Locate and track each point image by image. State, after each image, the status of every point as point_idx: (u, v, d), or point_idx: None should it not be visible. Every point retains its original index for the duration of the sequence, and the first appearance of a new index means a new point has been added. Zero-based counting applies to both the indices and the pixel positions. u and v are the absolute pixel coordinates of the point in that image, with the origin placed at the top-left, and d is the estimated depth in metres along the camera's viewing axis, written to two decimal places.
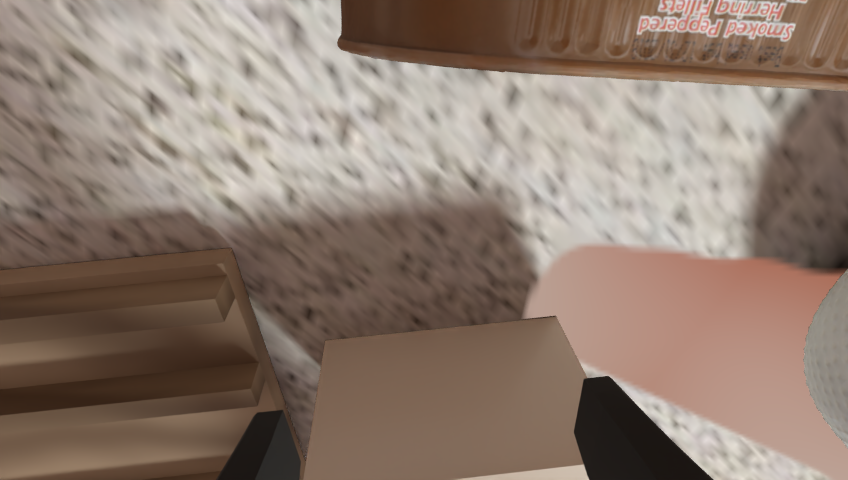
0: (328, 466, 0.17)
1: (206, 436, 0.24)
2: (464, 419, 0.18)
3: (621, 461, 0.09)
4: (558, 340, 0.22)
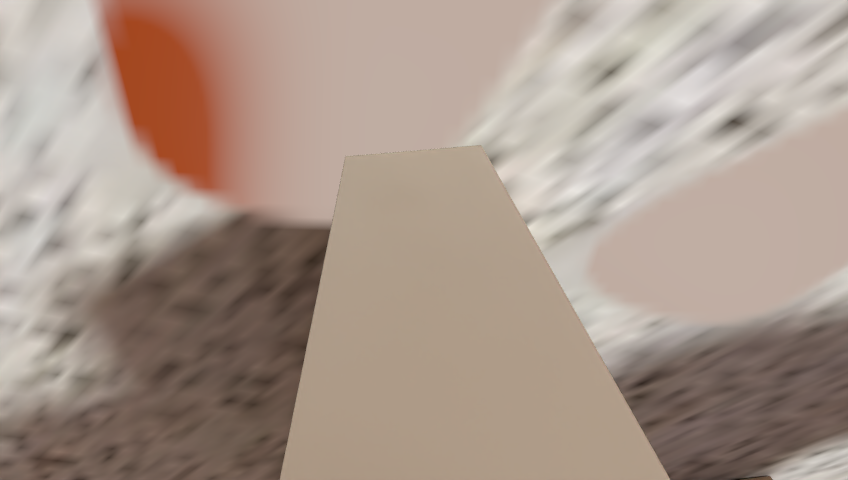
0: None
1: None
2: None
3: None
4: None
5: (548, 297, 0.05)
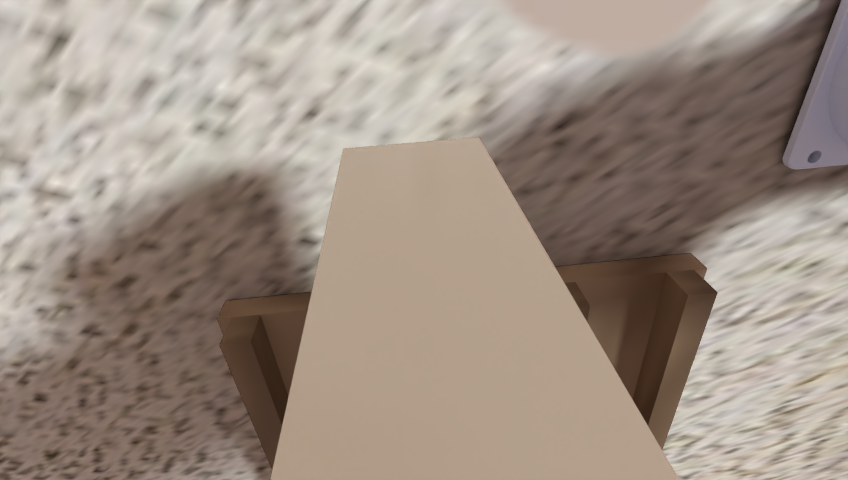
0: None
1: None
2: None
3: None
4: None
5: (544, 282, 0.05)
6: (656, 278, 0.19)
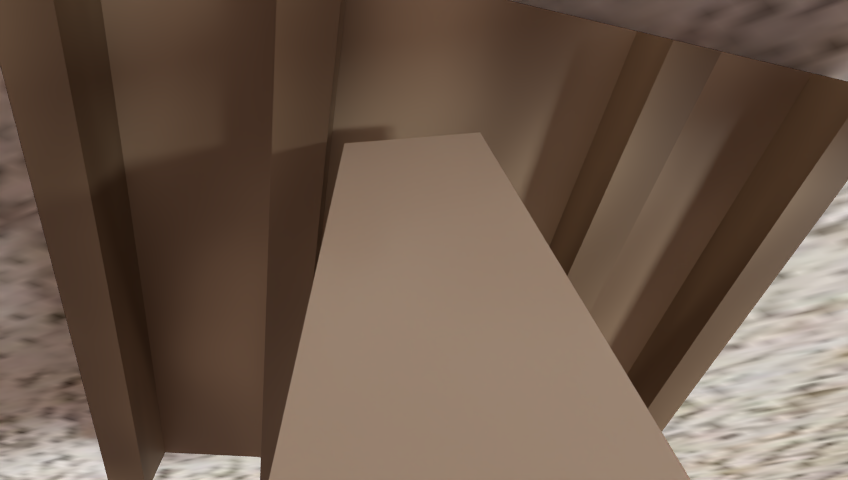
0: None
1: None
2: None
3: None
4: None
5: (546, 273, 0.05)
6: (794, 80, 0.12)
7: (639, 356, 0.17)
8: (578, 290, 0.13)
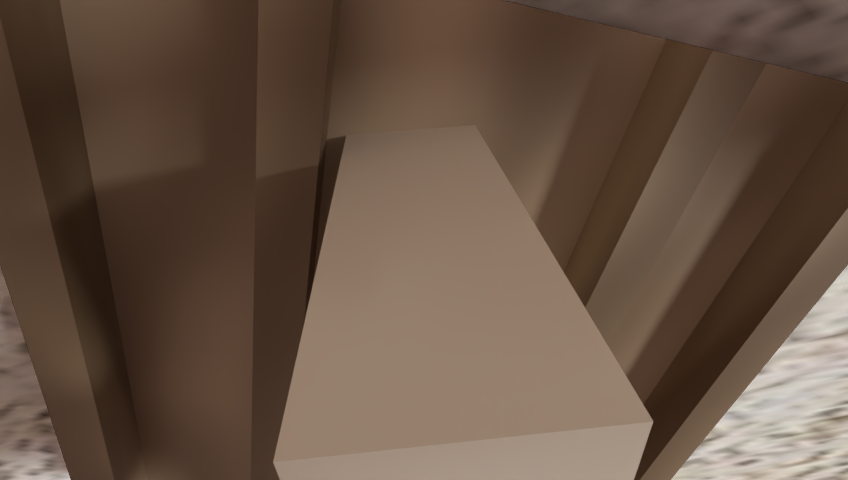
0: None
1: None
2: None
3: None
4: None
5: (531, 247, 0.06)
6: (837, 93, 0.11)
7: (657, 385, 0.16)
8: (597, 323, 0.12)
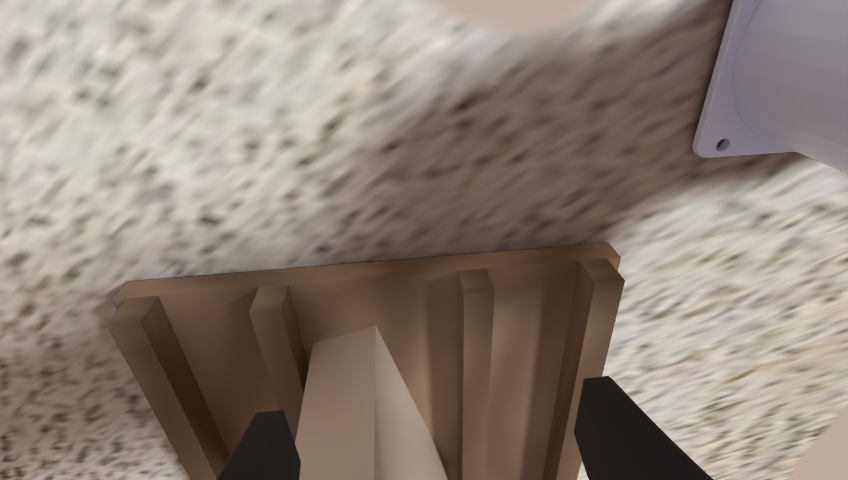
0: None
1: (390, 349, 0.20)
2: None
3: (621, 461, 0.09)
4: None
5: (368, 433, 0.15)
6: (569, 266, 0.19)
7: (553, 419, 0.24)
8: (474, 407, 0.21)
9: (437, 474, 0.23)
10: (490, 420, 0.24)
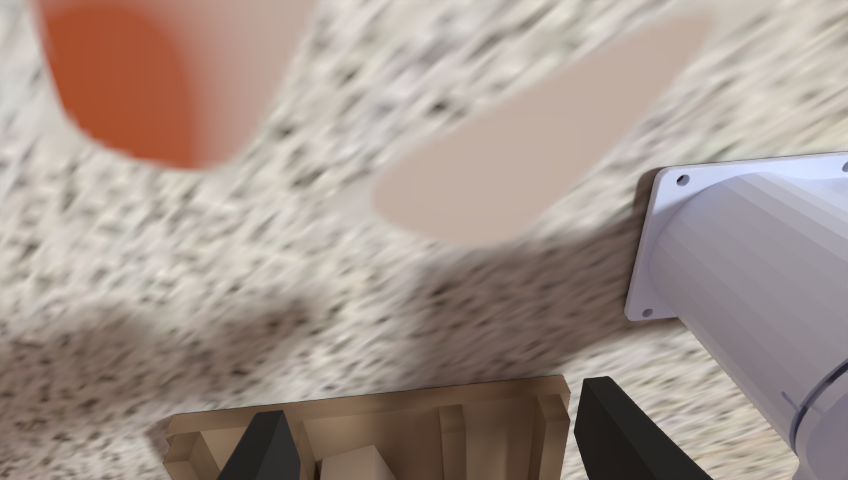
0: None
1: (385, 459, 0.25)
2: None
3: (621, 461, 0.09)
4: None
5: None
6: (529, 400, 0.23)
7: None
8: None
9: None
10: None
